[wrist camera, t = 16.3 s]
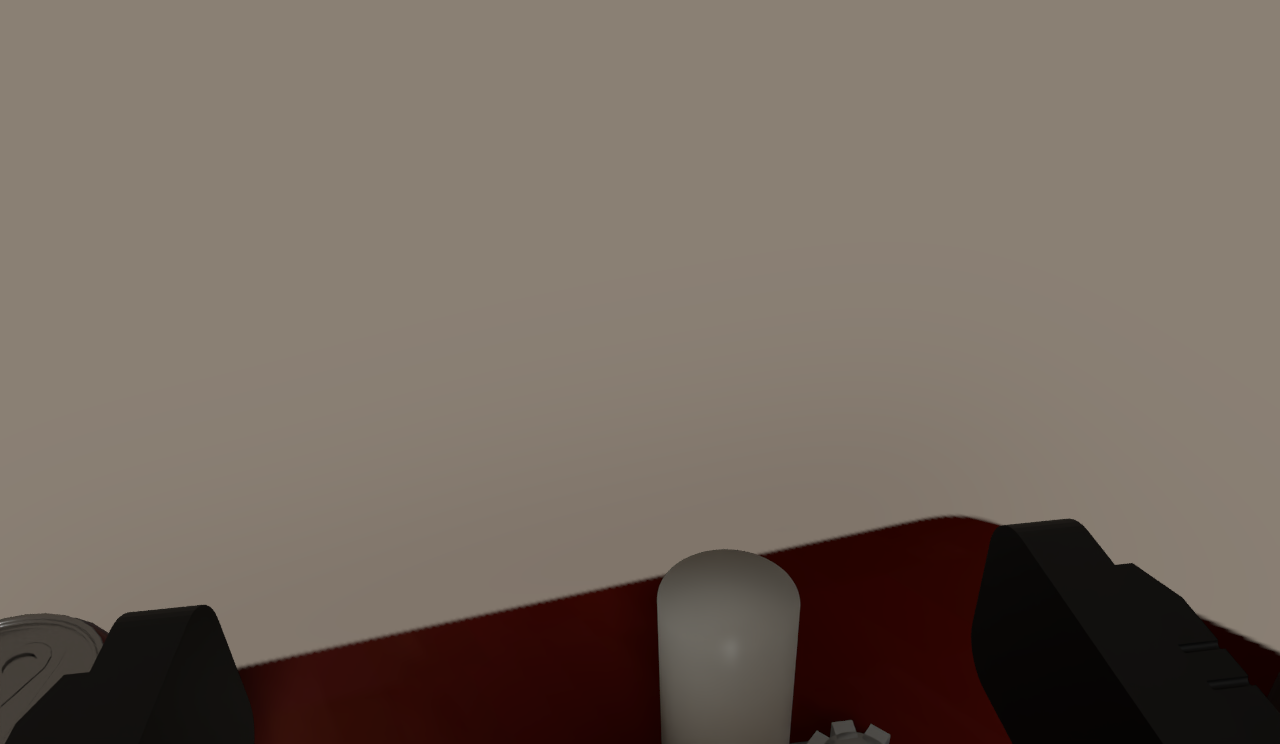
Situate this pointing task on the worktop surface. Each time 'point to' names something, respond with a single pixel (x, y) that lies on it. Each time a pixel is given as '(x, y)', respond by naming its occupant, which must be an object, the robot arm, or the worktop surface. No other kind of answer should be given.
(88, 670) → the soda can
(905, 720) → the worktop surface
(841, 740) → the carrier plate
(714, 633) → the gray pillar
